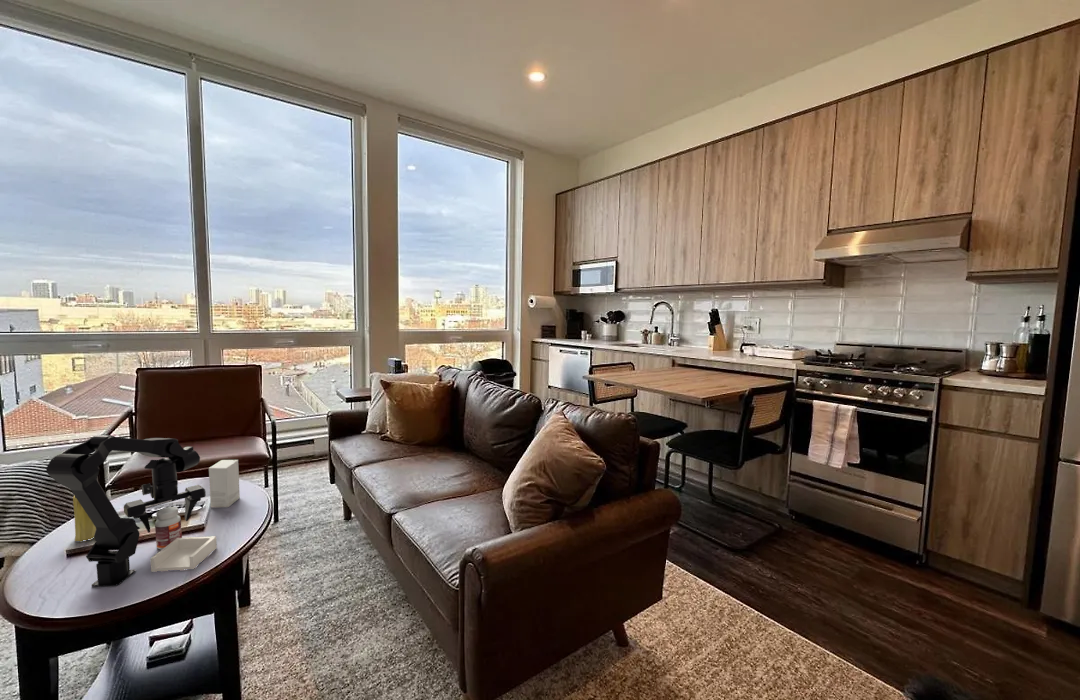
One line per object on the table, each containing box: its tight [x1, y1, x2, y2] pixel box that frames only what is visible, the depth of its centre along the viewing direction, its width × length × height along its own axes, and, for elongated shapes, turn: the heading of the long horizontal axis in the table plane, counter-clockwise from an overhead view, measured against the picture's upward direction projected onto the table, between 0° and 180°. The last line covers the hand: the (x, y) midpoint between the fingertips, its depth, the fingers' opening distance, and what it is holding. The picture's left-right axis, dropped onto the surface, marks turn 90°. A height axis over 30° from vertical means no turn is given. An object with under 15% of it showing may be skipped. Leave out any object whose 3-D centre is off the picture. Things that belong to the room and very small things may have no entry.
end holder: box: [149, 535, 218, 573], centre depth 130 cm, size 11×11×4 cm
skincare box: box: [208, 459, 241, 509], centre depth 166 cm, size 8×7×16 cm
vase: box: [72, 495, 96, 542], centre depth 140 cm, size 6×6×14 cm
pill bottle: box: [154, 506, 183, 551], centre depth 137 cm, size 6×6×11 cm
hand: (168, 526), depth 137 cm, fingers open, 9 cm apart
